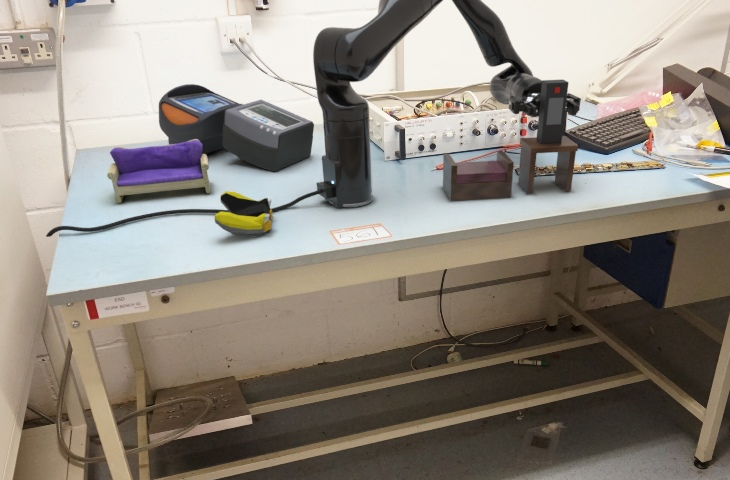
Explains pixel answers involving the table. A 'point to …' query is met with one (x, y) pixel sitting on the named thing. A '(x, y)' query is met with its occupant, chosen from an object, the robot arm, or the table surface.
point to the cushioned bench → (476, 187)
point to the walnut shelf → (533, 147)
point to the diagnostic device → (235, 127)
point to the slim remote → (552, 111)
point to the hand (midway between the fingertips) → (555, 111)
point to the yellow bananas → (244, 214)
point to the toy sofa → (158, 168)
